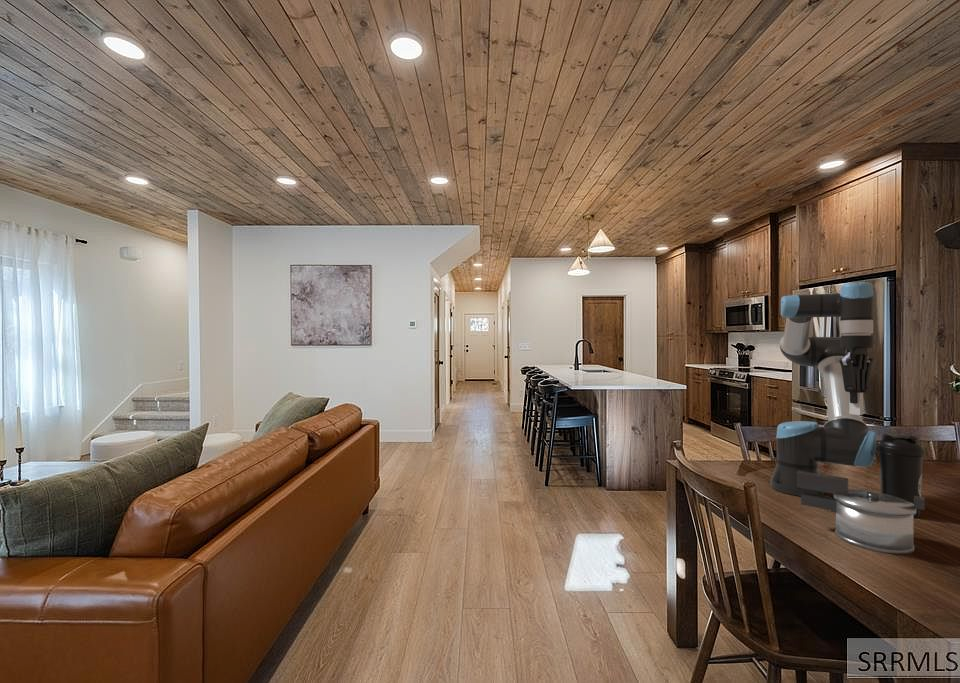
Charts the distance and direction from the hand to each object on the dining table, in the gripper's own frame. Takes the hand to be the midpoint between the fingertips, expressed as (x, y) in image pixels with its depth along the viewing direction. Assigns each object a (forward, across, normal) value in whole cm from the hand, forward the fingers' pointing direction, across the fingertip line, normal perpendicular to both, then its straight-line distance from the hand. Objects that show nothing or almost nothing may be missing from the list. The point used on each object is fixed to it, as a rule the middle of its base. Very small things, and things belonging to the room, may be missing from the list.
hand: (856, 414), depth 135 cm
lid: (+20, +19, +10) cm, 29 cm away
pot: (+29, +19, +9) cm, 36 cm away
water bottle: (+30, -13, +5) cm, 33 cm away
